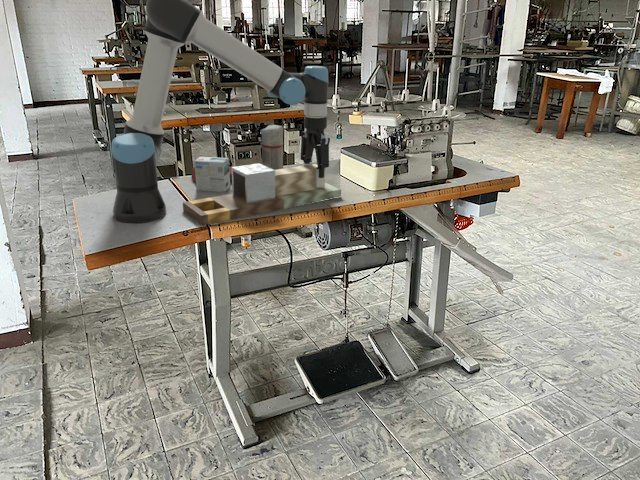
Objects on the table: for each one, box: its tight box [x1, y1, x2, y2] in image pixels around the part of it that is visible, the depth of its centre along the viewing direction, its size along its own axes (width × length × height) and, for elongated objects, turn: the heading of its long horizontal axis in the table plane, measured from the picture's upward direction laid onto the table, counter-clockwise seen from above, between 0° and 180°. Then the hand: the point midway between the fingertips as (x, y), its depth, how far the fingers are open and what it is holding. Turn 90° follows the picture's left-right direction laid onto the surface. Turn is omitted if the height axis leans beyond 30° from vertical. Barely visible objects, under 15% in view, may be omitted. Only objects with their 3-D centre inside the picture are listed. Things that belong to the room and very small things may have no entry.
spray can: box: [261, 124, 284, 170], centre depth 194 cm, size 8×8×20 cm
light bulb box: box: [194, 156, 231, 193], centre depth 182 cm, size 11×7×11 cm, turn 84°
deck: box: [182, 182, 342, 226], centre depth 169 cm, size 51×14×3 cm, turn 126°
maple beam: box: [275, 163, 326, 197], centre depth 173 cm, size 22×6×7 cm, turn 125°
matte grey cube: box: [231, 163, 275, 205], centre depth 165 cm, size 10×10×10 cm
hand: (313, 184), depth 179 cm, fingers closed on maple beam, 6 cm apart
